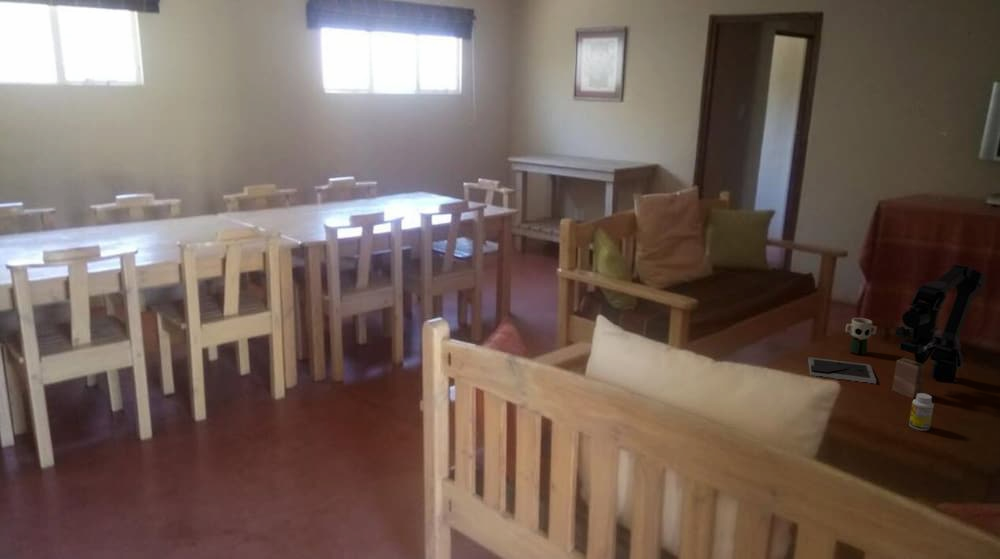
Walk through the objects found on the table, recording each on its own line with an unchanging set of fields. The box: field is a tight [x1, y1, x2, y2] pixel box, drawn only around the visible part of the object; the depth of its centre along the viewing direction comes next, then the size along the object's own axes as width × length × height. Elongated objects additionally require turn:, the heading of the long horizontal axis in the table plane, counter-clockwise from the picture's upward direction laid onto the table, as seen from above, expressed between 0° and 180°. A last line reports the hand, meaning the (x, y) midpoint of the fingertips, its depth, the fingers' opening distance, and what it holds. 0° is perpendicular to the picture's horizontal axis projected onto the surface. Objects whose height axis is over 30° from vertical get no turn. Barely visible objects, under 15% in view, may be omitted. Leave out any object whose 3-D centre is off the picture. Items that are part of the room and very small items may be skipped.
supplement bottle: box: [908, 392, 935, 431], centre depth 220 cm, size 6×6×10 cm
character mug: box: [845, 317, 878, 355], centre depth 282 cm, size 11×7×13 cm, turn 79°
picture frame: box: [808, 356, 877, 385], centre depth 264 cm, size 16×3×21 cm
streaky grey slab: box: [891, 357, 925, 399], centre depth 245 cm, size 4×7×11 cm, turn 33°
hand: (919, 367), depth 248 cm, fingers closed
